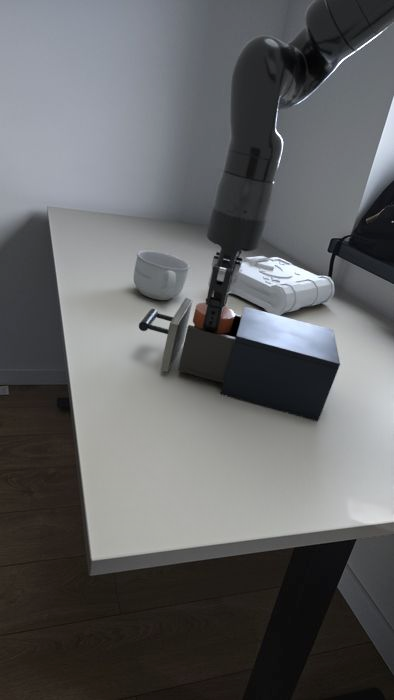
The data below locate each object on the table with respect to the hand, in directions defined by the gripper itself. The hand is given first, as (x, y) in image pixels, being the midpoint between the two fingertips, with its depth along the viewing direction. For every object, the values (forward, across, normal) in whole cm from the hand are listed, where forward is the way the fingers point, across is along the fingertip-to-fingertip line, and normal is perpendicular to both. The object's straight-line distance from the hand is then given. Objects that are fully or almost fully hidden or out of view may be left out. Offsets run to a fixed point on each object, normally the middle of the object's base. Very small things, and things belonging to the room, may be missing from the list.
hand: (213, 321), depth 74 cm
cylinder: (+1, 0, 0) cm, 1 cm away
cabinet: (+8, 0, -11) cm, 14 cm away
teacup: (+8, +25, +14) cm, 30 cm away
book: (+8, +47, -11) cm, 49 cm away
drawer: (+7, 0, +1) cm, 7 cm away
